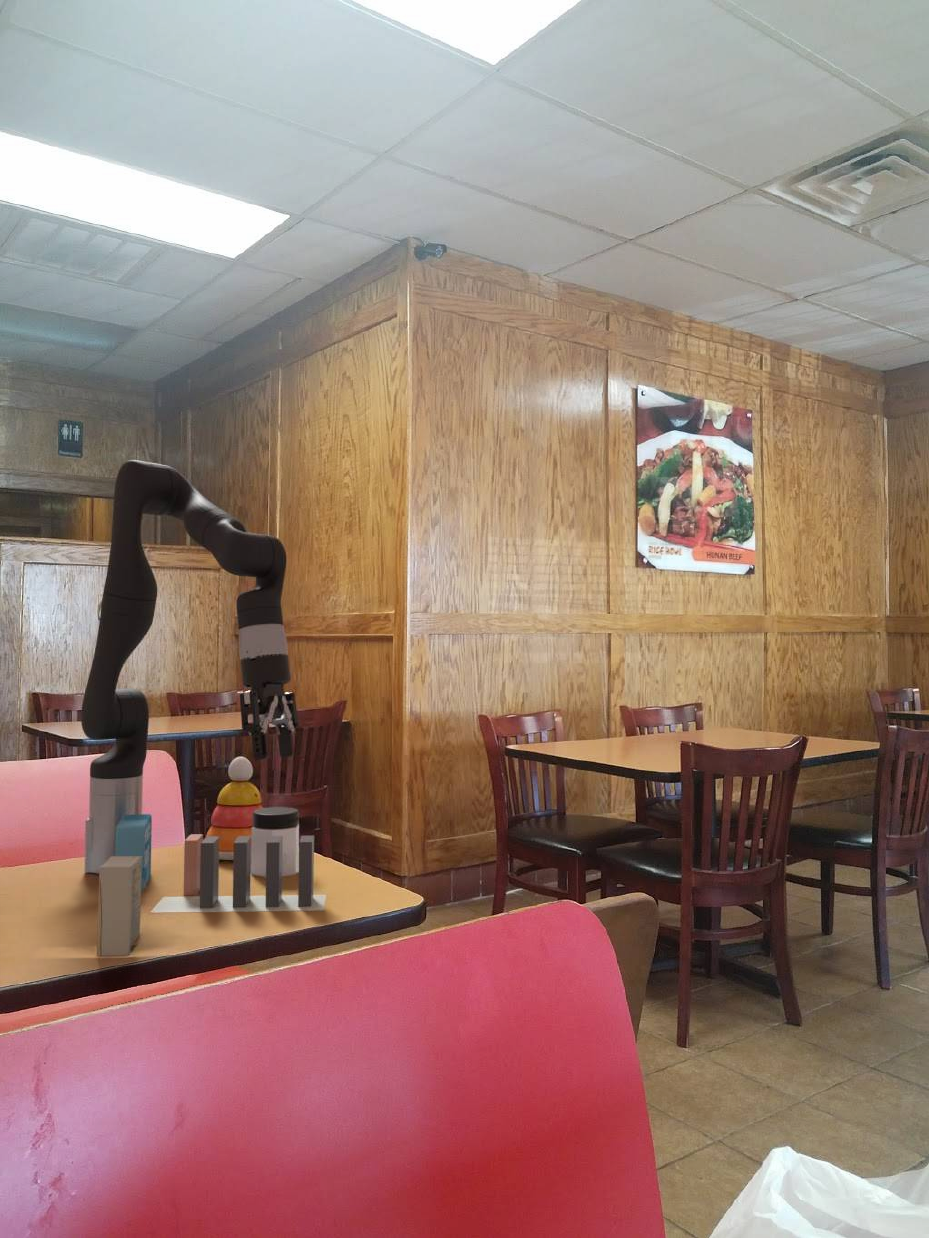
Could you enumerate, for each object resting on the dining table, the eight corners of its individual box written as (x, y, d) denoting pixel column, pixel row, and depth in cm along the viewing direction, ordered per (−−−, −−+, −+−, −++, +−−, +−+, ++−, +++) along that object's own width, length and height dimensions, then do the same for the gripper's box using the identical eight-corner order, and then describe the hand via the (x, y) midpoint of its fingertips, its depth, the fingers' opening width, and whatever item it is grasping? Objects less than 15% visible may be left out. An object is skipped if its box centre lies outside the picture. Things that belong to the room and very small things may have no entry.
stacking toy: (259, 866, 181) (261, 762, 182) (188, 862, 183) (190, 760, 184) (285, 850, 195) (286, 753, 196) (218, 847, 197) (220, 751, 198)
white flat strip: (149, 920, 145) (150, 912, 145) (163, 904, 154) (163, 896, 154) (323, 917, 148) (323, 909, 148) (326, 901, 157) (326, 894, 157)
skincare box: (109, 942, 135) (110, 855, 135) (141, 942, 135) (143, 855, 135) (95, 957, 129) (97, 866, 129) (129, 956, 129) (131, 865, 129)
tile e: (298, 906, 149) (299, 842, 150) (300, 898, 154) (301, 835, 155) (311, 906, 150) (312, 842, 150) (313, 898, 155) (314, 835, 155)
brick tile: (183, 902, 156) (184, 840, 156) (189, 894, 161) (190, 834, 161) (196, 902, 156) (197, 840, 156) (201, 894, 161) (202, 834, 161)
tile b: (199, 908, 148) (200, 843, 148) (205, 899, 153) (206, 836, 153) (212, 908, 148) (213, 842, 148) (218, 899, 153) (219, 836, 153)
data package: (143, 898, 158) (144, 825, 158) (114, 900, 157) (115, 826, 157) (150, 880, 170) (152, 812, 170) (123, 881, 169) (125, 813, 169)
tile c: (232, 907, 148) (233, 842, 149) (237, 899, 153) (238, 836, 154) (245, 907, 149) (246, 842, 149) (250, 898, 154) (251, 836, 154)
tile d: (265, 907, 149) (266, 842, 149) (269, 898, 154) (270, 835, 154) (278, 907, 149) (279, 842, 149) (281, 898, 154) (282, 835, 154)
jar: (259, 886, 166) (260, 816, 167) (242, 876, 173) (243, 809, 173) (307, 879, 171) (308, 812, 172) (289, 870, 178) (290, 805, 178)
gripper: (264, 661, 160) (274, 759, 158) (219, 656, 147) (230, 763, 144) (305, 654, 158) (316, 753, 156) (263, 649, 145) (275, 756, 143)
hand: (274, 758), depth 150 cm, fingers open, 8 cm apart
